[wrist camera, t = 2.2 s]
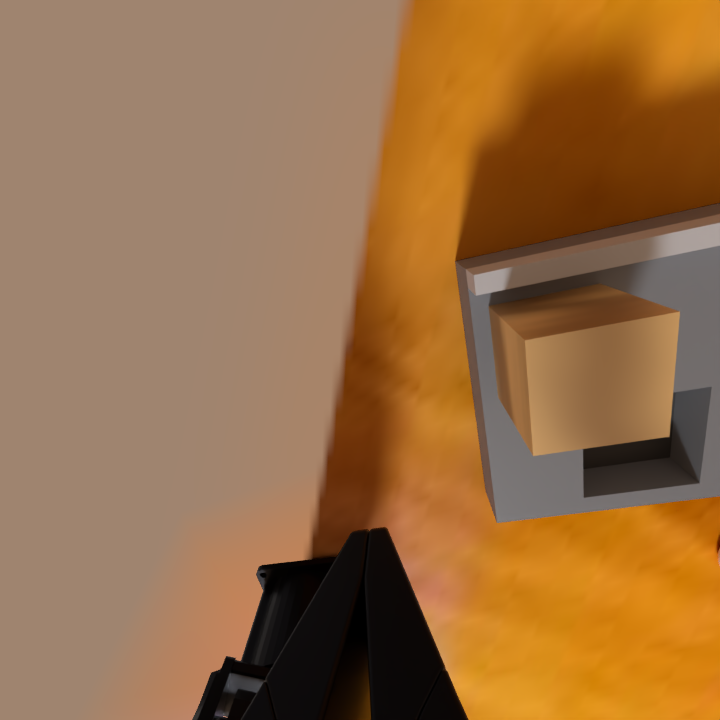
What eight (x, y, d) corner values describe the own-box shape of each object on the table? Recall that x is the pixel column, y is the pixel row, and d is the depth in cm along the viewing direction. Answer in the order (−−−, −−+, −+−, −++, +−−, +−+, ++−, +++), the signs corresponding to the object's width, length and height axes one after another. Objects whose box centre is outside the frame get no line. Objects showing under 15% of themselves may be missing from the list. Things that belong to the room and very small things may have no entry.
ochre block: (497, 397, 18) (533, 456, 13) (488, 305, 16) (524, 340, 12) (599, 380, 17) (669, 436, 13) (600, 283, 15) (679, 311, 11)
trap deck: (485, 490, 23) (508, 554, 19) (455, 261, 18) (476, 277, 14) (824, 446, 20) (937, 507, 16) (899, 163, 15) (1092, 146, 11)
